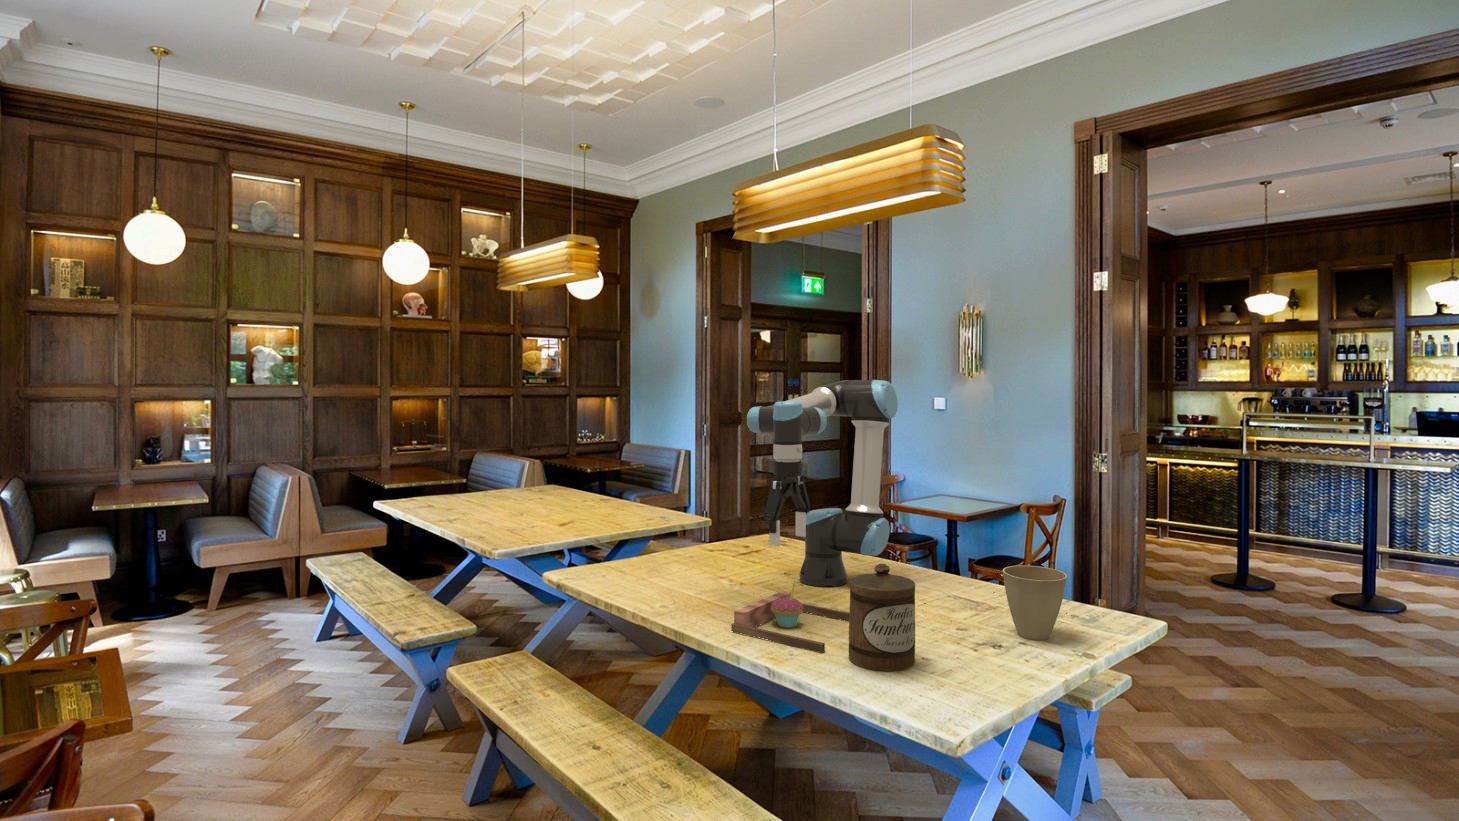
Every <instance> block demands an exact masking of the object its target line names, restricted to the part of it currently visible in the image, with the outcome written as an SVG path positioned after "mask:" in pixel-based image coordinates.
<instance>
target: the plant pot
mask: <svg viewBox="0 0 1459 821" xmlns="http://www.w3.org/2000/svg"><path fill="white" fill-rule="evenodd" d="M1002 575H1003V576H1002V577H1003V584H1004V591H1005V595H1006V599H1007V604H1008V609H1009V612H1010V615H1011V617H1012V621H1013V624H1014V628H1015V630H1016V632H1017V635H1019V636H1020V637H1022V638H1024V639H1027V640H1034V641H1042V640H1043V641H1044V640H1048V639H1049V638H1050V636H1051V634H1052V632H1053V629H1054V628H1055V625H1056V622H1057V619H1058V616H1059V614H1060V610H1061V607H1062V603H1063V599H1064V595H1065V591H1066V590H1065V589H1066V586H1067V578H1068V575H1067V574H1066V573H1065V572H1064V571H1061V570H1058V569H1054V568H1050V567H1045V566H1037V565H1011V566H1007V567H1004V568H1003V569H1002Z"/></svg>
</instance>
